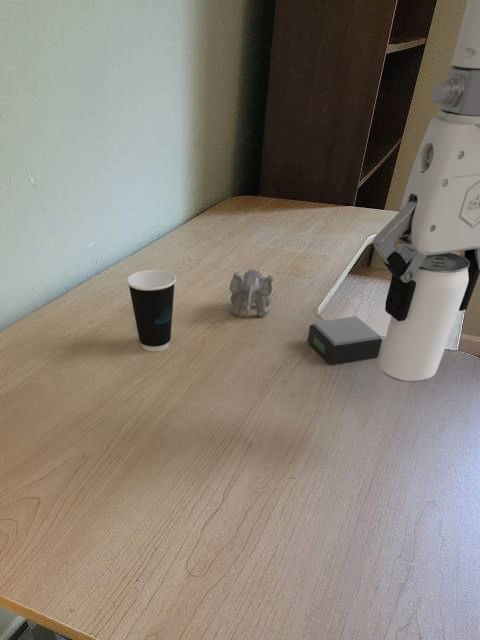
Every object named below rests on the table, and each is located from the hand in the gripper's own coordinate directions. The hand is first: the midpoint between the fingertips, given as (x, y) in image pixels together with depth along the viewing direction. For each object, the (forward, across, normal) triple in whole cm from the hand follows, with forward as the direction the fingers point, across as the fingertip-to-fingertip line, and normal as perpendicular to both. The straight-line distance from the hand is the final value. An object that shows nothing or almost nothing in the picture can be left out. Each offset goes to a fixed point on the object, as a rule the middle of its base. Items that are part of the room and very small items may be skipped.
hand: (425, 309), depth 56 cm
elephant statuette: (+18, -3, +43) cm, 46 cm away
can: (+7, 0, 0) cm, 7 cm away
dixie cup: (+17, -23, +37) cm, 47 cm away
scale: (+18, +7, +25) cm, 32 cm away
